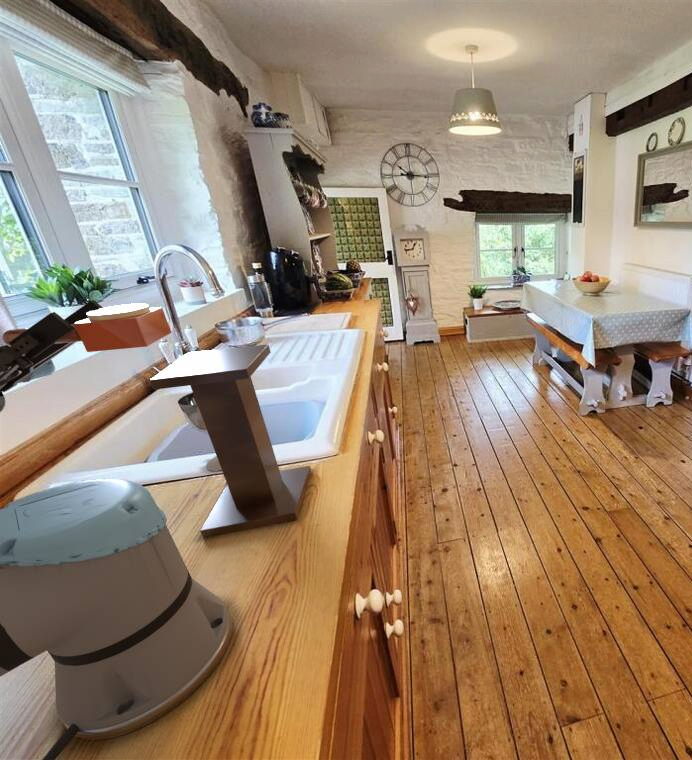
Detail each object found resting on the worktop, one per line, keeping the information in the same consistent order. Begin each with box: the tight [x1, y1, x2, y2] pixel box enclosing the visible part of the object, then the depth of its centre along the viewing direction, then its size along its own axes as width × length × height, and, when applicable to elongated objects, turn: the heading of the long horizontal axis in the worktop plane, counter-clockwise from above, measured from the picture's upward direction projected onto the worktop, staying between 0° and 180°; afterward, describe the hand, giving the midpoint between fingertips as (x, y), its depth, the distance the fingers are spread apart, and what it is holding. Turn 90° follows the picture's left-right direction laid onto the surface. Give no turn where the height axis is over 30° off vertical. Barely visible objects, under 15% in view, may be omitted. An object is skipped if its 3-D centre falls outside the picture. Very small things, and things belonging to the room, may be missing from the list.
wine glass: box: [177, 392, 222, 472], centre depth 83 cm, size 8×8×15 cm
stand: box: [149, 343, 312, 539], centre depth 68 cm, size 14×14×27 cm
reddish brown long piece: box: [3, 303, 172, 353], centre depth 57 cm, size 17×7×5 cm, turn 104°
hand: (83, 314), depth 56 cm, fingers closed on reddish brown long piece, 7 cm apart
